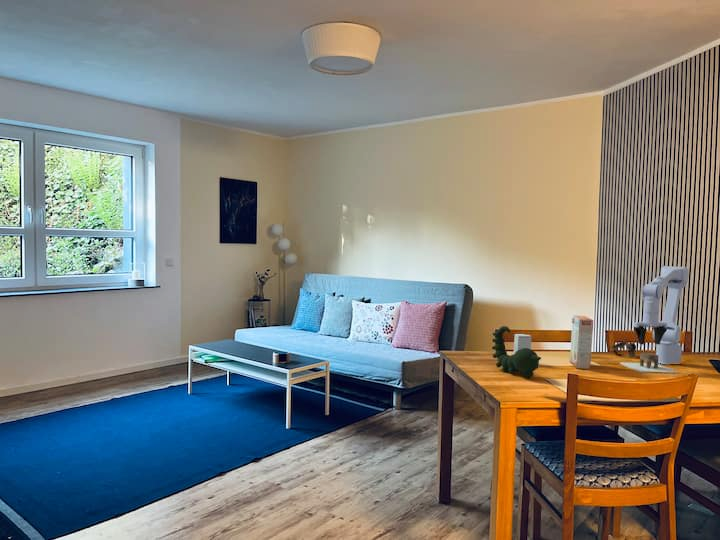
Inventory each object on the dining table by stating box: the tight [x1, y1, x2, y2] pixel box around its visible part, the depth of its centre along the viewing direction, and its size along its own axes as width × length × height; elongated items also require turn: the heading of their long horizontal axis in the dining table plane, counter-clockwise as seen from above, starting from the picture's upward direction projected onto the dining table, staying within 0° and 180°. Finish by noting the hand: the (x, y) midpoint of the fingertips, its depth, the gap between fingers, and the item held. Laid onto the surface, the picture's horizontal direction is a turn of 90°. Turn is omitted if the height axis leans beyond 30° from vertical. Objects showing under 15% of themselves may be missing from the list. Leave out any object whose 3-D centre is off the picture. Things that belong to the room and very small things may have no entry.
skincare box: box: [513, 333, 532, 354], centre depth 227 cm, size 6×4×12 cm
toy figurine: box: [491, 325, 542, 379], centre depth 205 cm, size 9×19×25 cm
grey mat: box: [619, 362, 680, 374], centre depth 224 cm, size 16×16×1 cm
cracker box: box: [569, 315, 594, 370], centre depth 224 cm, size 14×6×21 cm, turn 168°
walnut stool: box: [639, 352, 659, 368], centre depth 224 cm, size 5×5×6 cm
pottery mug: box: [611, 340, 637, 358], centre depth 251 cm, size 12×10×8 cm
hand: (649, 344), depth 224 cm, fingers open, 7 cm apart
